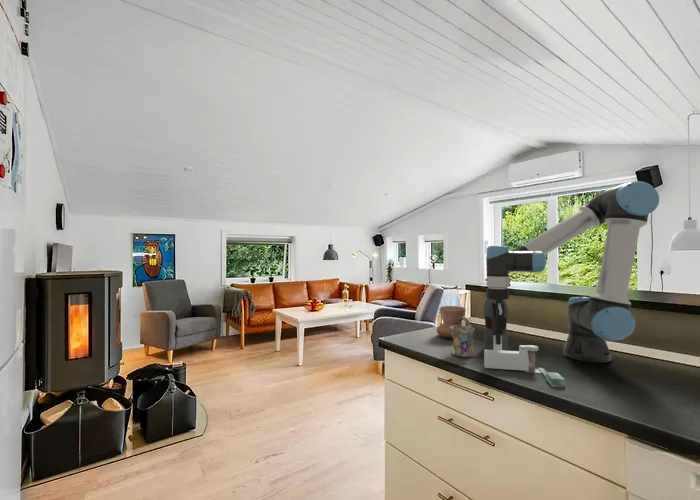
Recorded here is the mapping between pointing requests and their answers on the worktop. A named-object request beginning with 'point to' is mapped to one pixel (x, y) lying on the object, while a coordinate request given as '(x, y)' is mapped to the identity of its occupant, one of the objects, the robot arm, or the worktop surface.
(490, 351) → the hinged leg
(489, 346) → the bottle
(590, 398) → the worktop surface
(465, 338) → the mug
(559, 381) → the stool seat
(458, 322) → the ceramic jug
